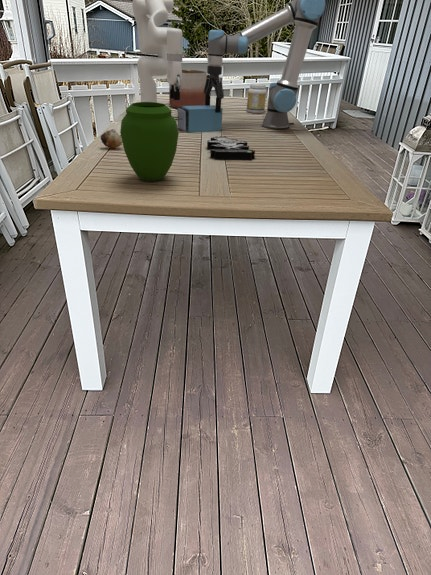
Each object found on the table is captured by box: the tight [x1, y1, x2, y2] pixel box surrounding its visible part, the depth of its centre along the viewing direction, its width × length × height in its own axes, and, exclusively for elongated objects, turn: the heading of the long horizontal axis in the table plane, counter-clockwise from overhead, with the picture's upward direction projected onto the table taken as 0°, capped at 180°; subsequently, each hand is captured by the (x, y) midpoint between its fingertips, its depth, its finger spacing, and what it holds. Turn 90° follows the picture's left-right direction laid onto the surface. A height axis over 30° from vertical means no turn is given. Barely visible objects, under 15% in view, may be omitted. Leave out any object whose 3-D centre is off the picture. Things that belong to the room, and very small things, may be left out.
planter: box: [168, 69, 208, 109], centre depth 278 cm, size 25×25×22 cm
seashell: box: [100, 128, 123, 149], centre depth 178 cm, size 10×6×8 cm, turn 91°
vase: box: [119, 101, 179, 182], centre depth 140 cm, size 20×20×24 cm
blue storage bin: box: [182, 104, 223, 133], centre depth 220 cm, size 19×10×11 cm, turn 115°
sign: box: [206, 135, 256, 161], centre depth 185 cm, size 19×3×30 cm
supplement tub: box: [246, 83, 267, 114], centre depth 274 cm, size 12×12×17 cm
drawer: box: [173, 108, 189, 131], centre depth 217 cm, size 24×9×9 cm, turn 115°
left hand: (174, 98), depth 209 cm, fingers open, 4 cm apart
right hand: (212, 110), depth 220 cm, fingers open, 13 cm apart
